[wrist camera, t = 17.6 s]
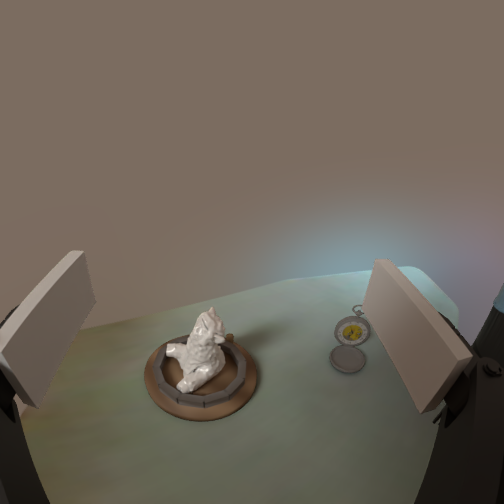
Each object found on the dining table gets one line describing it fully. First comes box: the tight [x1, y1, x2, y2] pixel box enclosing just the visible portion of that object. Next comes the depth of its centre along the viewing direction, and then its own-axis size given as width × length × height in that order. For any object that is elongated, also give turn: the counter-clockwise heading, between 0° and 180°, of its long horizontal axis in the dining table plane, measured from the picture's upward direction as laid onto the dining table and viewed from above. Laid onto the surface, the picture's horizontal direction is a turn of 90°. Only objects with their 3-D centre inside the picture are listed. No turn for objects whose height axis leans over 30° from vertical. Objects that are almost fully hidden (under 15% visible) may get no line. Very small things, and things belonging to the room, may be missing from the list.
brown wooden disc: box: [144, 334, 257, 422], centre depth 41 cm, size 18×18×3 cm
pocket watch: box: [330, 305, 371, 373], centre depth 45 cm, size 8×8×10 cm
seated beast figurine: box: [166, 307, 226, 394], centre depth 38 cm, size 10×9×12 cm
